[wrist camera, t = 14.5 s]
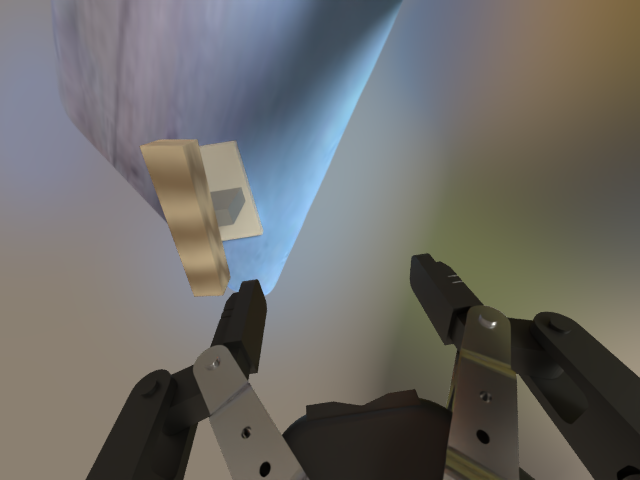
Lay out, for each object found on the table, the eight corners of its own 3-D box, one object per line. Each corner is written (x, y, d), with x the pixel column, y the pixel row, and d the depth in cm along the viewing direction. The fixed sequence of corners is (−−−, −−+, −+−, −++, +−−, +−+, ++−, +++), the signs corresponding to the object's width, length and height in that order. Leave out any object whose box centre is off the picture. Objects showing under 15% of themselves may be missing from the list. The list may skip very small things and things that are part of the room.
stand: (171, 150, 36) (131, 167, 28) (235, 140, 36) (216, 153, 27) (211, 238, 44) (190, 272, 36) (263, 230, 44) (254, 262, 36)
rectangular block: (230, 277, 37) (223, 295, 34) (204, 278, 37) (194, 296, 33) (197, 139, 27) (182, 145, 23) (160, 139, 26) (139, 146, 23)
